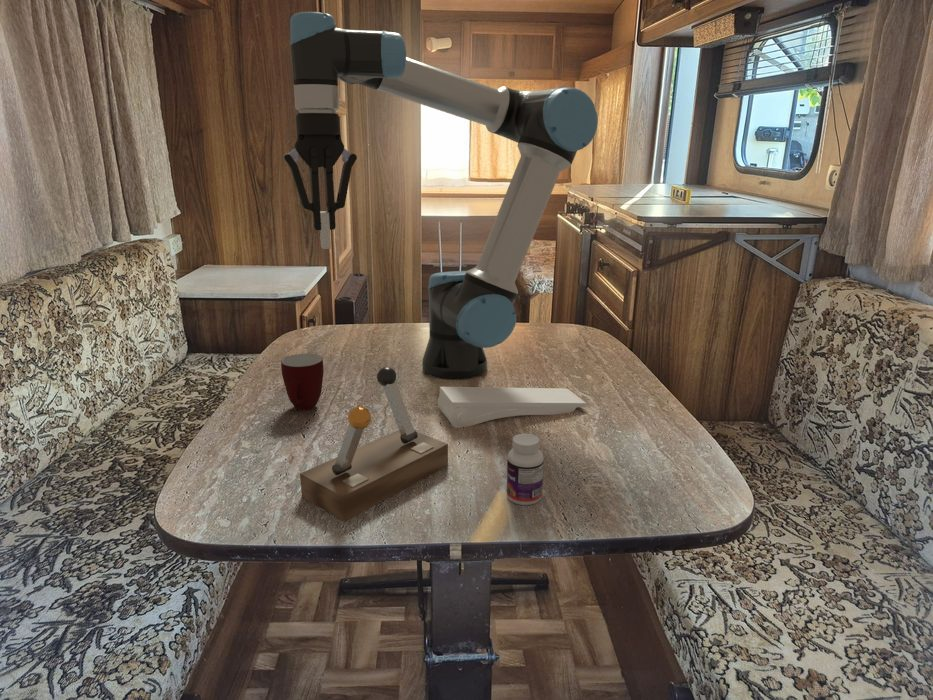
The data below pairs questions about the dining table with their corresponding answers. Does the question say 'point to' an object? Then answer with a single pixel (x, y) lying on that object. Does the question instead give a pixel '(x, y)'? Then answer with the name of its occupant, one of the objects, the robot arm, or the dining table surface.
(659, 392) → the dining table surface
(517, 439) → the pill bottle
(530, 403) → the wall bracket
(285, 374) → the mug
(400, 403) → the black knob lever
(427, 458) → the switch box
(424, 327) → the dining table surface
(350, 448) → the orange knob lever
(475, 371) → the robot arm
